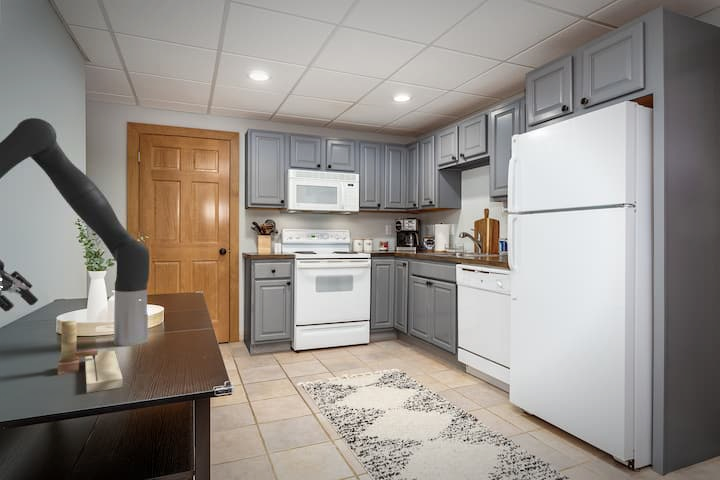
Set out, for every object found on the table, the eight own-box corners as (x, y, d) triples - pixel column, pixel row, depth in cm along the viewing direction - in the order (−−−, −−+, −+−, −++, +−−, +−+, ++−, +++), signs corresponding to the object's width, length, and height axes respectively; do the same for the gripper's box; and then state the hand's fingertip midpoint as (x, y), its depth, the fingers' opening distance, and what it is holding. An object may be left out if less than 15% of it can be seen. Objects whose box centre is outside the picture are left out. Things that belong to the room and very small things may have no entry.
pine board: (114, 357, 119) (114, 350, 119) (122, 387, 97) (122, 378, 97) (85, 361, 115) (85, 354, 115) (86, 392, 93) (86, 383, 93)
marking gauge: (96, 363, 114) (97, 317, 114) (97, 369, 109) (98, 321, 109) (58, 368, 109) (59, 320, 109) (57, 375, 104) (58, 325, 104)
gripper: (-38, 251, 99) (13, 300, 100) (8, 248, 113) (52, 291, 114) (-62, 273, 98) (-11, 322, 100) (-13, 268, 113) (31, 310, 114)
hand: (23, 305), depth 107 cm, fingers open, 8 cm apart
